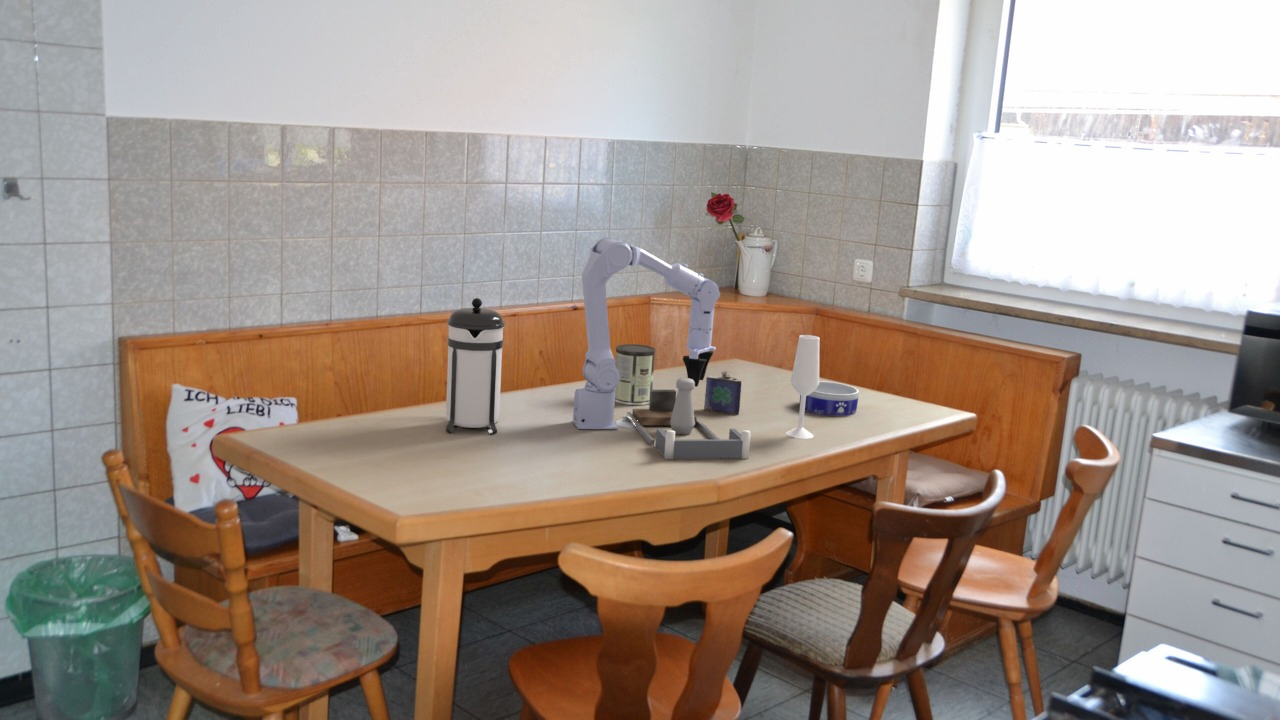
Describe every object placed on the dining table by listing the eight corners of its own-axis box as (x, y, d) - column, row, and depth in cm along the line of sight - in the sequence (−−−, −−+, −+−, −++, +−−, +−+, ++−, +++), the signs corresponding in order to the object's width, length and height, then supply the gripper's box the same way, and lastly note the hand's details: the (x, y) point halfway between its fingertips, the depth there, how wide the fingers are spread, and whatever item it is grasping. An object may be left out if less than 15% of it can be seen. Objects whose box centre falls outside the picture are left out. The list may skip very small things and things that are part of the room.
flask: (702, 410, 281) (706, 369, 279) (705, 408, 284) (709, 367, 282) (737, 415, 279) (741, 374, 276) (740, 413, 281) (744, 372, 279)
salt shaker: (691, 437, 256) (696, 382, 253) (667, 434, 257) (671, 380, 254) (695, 430, 262) (699, 377, 259) (671, 427, 263) (676, 375, 260)
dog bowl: (839, 401, 302) (841, 380, 301) (867, 416, 288) (869, 394, 287) (789, 402, 297) (791, 380, 296) (815, 417, 283) (817, 394, 282)
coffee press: (522, 429, 252) (528, 300, 246) (466, 440, 241) (471, 305, 235) (474, 413, 264) (479, 289, 258) (419, 423, 252) (423, 293, 246)
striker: (639, 425, 262) (641, 396, 260) (632, 416, 270) (634, 388, 268) (696, 425, 265) (698, 397, 264) (686, 416, 273) (689, 389, 271)
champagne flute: (797, 429, 269) (806, 333, 264) (819, 436, 265) (829, 338, 260) (779, 433, 265) (789, 335, 260) (802, 440, 260) (812, 340, 255)
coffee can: (626, 393, 294) (630, 342, 291) (659, 401, 288) (663, 348, 285) (604, 400, 285) (608, 347, 282) (638, 407, 280) (641, 353, 277)
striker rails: (650, 445, 247) (651, 440, 247) (626, 416, 270) (626, 411, 270) (720, 445, 251) (720, 440, 251) (690, 416, 274) (690, 412, 274)
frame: (665, 459, 237) (667, 432, 236) (653, 445, 247) (655, 420, 246) (749, 458, 242) (752, 432, 241) (734, 445, 251) (737, 420, 250)
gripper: (712, 334, 257) (707, 390, 260) (721, 325, 271) (717, 378, 274) (682, 331, 258) (677, 387, 261) (693, 322, 272) (689, 375, 275)
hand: (696, 382), depth 267 cm, fingers open, 7 cm apart
